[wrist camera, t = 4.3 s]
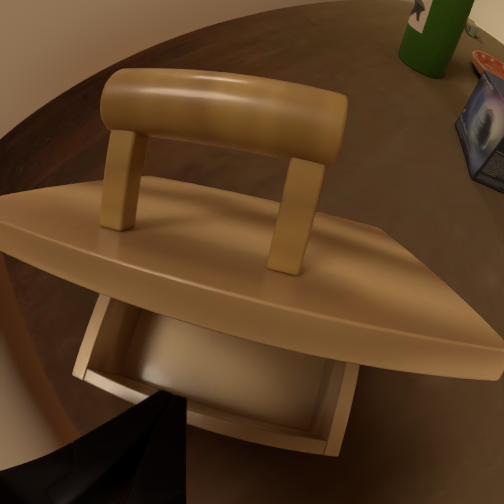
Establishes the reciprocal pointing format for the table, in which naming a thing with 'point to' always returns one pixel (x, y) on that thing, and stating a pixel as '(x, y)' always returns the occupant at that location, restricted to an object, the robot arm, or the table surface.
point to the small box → (484, 131)
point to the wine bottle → (433, 34)
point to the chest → (219, 378)
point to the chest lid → (246, 233)
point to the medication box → (471, 28)
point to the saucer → (487, 63)
